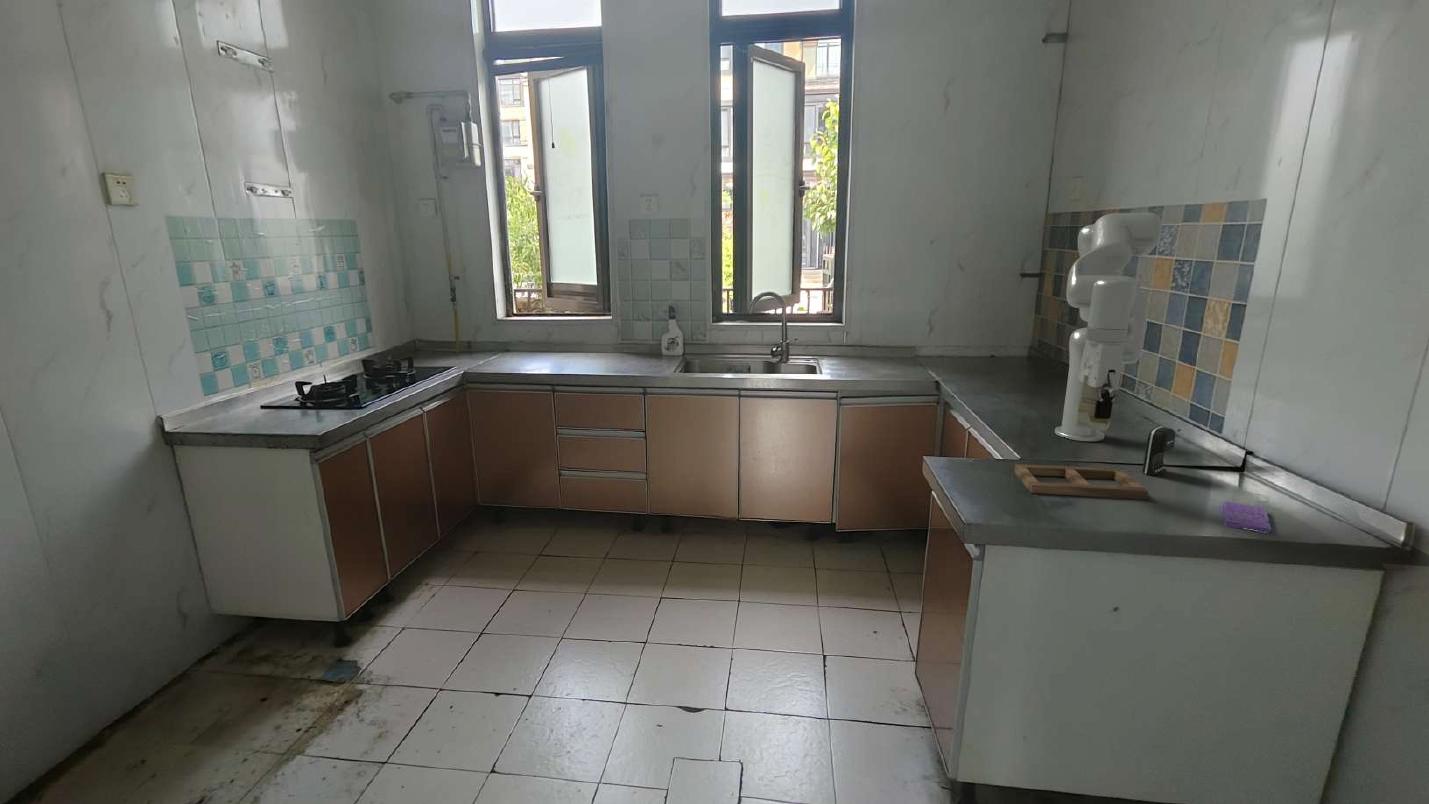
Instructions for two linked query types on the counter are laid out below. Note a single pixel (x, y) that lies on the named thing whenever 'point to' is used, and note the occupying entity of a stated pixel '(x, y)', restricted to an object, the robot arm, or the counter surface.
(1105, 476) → the rack
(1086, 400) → the skincare box
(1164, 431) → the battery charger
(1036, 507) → the counter surface
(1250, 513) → the sponges
